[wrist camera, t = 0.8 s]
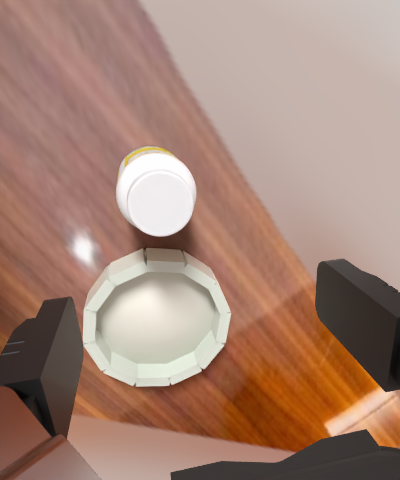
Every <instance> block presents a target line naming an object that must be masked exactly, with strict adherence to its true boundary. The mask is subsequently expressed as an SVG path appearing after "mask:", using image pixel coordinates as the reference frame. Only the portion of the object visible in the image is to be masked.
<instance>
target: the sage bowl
mask: <svg viewBox="0 0 400 480" xmlns="http://www.w3.org/2000/svg"><path fill="white" fill-rule="evenodd" d="M230 316H231V313H230V309H229V306H228V304H227V302H226V299H225V297H224V295H223V293H222V290H221V288H220V286H219V284H218V282H217V280H216V278H215V276H214V274H213V272H212V270H211V269H210V268H209V267H208V266H206V265H205V264H203V263H202V262H200V261H199V260H197V259H196V258H194V257H192V256H191V255H189V254H188V253H186V252H185V251H183V252H181V250H178V249H161V248H146V250H144V249H143V248H142V249H140V250H138V251H136V252H133V253H131V254H129V255H127V256H125V257H122V258H120V259H118V260H116V261H113V262H111V263H110V265H108V266H107V267H106V268H105V270H104V271H103V273H102V274H101V275H100V277H99V278H98V280H97V281H96V282H95V284H94V285H93V286H92V288H91V289H90V291H89V293H88V296H87V300H86V304H85V308H84V324H83V343H84V347H85V348H86V350H87V351H88V353H89V354H90V356H91V357H92V358H93V360H94V361H95V363H96V364H97V366H98V367H99V369H100V370H101V371H103V370H104V372H103V373H105V374H107V375H109V376H111V377H114V378H116V379H118V380H120V381H123V382H125V383H127V384H129V385H131V386H134V384H135V383H136V387H143V386H169V384H170V383H171V384H172V385H173V384H176V383H178V382H180V381H182V380H184V379H186V378H188V377H191V376H193V375H195V374H197V373H199V372H201V371H202V369H205V368H206V367H207V366H208V364H209V363H210V362H211V361H212V360H213V358H214V357H215V356H216V355H217V354H218V352H219V351H220V350H221V349H222V348H223V347H224V343H226V338H227V333H228V327H229V322H230ZM201 368H202V369H201Z"/></svg>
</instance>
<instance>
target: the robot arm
mask: <svg viewBox="0 0 400 480" xmlns="http://www.w3.org/2000/svg"><path fill="white" fill-rule="evenodd" d="M315 306H316V311H317V314H318V317H319V319H320V320H321V322H322V323H323V324H324V325H325V326H326V327H327V328H328V329H329V330H330V332H331V333H332V334H333V335H334V336H335V337H336V338H337V339H338V340H339V341H340V343H341V344H342V345H343V346H344V347H345V348H346V349H347V350H348V351H349V352H350V354H351V355H352V356H353V357H354V358H355V359H356V360H357V361H358V362H359V363H360V365H361V366H362V367H363V368H364V369H365V370H366V371H367V372H368V373H369V374H370V376H371V377H372V378H373V379H374V380H375V381H376V382H377V383H378V384H379V385H380V387H381V388H382V389H383V390H384V391H385V392H389V391H394V390H399V389H400V292H398V290H396V289H395V288H393V287H392V286H388V284H387V283H386V282H384V281H383V280H381V279H380V278H378V277H377V276H374V275H371V274H369V273H366V272H364V271H361V270H360V269H358V268H357V267H355V266H354V265H352V264H351V263H350V262H348V261H347V260H345V259H337V260H329V261H322V262H320V263H319V265H318V268H317V283H316V300H315ZM82 362H83V342H82V337H81V332H80V328H79V323H78V319H77V314H76V310H75V305H74V302H73V299H72V297H64V298H57V299H50V300H45V301H44V302H43V304H42V306H41V308H40V310H39V312H38V314H37V316H36V318H32V319H27V320H25V321H24V322H23V323H22V324H21V325H20V326H18V327H17V328H16V329H15V330H14V331H13V333H12V334H11V336H10V338H9V340H8V342H7V345H5V347H4V349H3V351H2V352H1V356H0V480H102V479H101V478H100V477H99V476H98V475H97V474H96V472H95V471H94V470H93V469H92V468H91V467H90V466H89V464H88V463H87V462H86V461H85V460H84V459H83V457H82V456H81V455H80V454H79V453H78V452H77V450H76V449H75V448H74V447H73V446H72V445H71V443H70V442H69V441H68V440H67V435H68V430H69V425H70V420H71V415H72V410H73V406H74V401H75V396H76V391H77V386H78V381H79V377H80V372H81V367H82ZM171 480H400V449H398V448H392V447H385V446H379V445H378V444H377V443H376V441H375V440H374V439H373V437H372V436H371V435H370V433H369V432H368V431H367V429H365V430H361V431H356V432H352V433H347V434H343V435H338V436H334V437H329V438H325V439H321V440H319V441H317V442H315V443H314V444H312V445H310V446H308V447H306V448H305V449H303V450H301V451H299V452H297V453H295V454H294V455H292V456H290V457H288V458H286V459H284V460H283V461H280V462H277V463H262V462H230V461H221V462H216V463H212V464H207V465H203V466H198V467H194V468H189V469H184V470H180V471H175V472H171Z"/></svg>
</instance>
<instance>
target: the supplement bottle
mask: <svg viewBox="0 0 400 480" xmlns="http://www.w3.org/2000/svg"><path fill="white" fill-rule="evenodd" d="M116 199H117V204H118V207H119V209H120V211H121V213H122V214H123V216H124V217H125V219H126V220H127V221H128V222H129V223H131V224H132V225H133V226H135V227H137V228H138V229H140V230H141V231H142V232H144V233H146V234H149V235H152V236H158V237H162V236H169V235H172V234H174V233H176V232H178V231H180V230H181V229H182V228H183V227H184V226H185V225H186V224H187V223H188V221H189V220H190V218H191V216H192V213H193V208H194V205H195V202H196V185H195V182H194V179H193V176H192V175H191V173H190V171H189V170H188V168H187V167H186V166H185V165H184V164H183V163H182V162H181V161H180V160H179V159H177V158H176V157H175V156H174V155H173V154H172V153H170V152H169V151H167V150H165V149H163V148H161V147H157V146H142V147H139V148H137V149H135V150H133V151H131V152H130V153H129V154H128V155H127V156H126V157H125V158H124V160H123V161H122V163H121V165H120V168H119V172H118V178H117V185H116Z"/></svg>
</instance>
